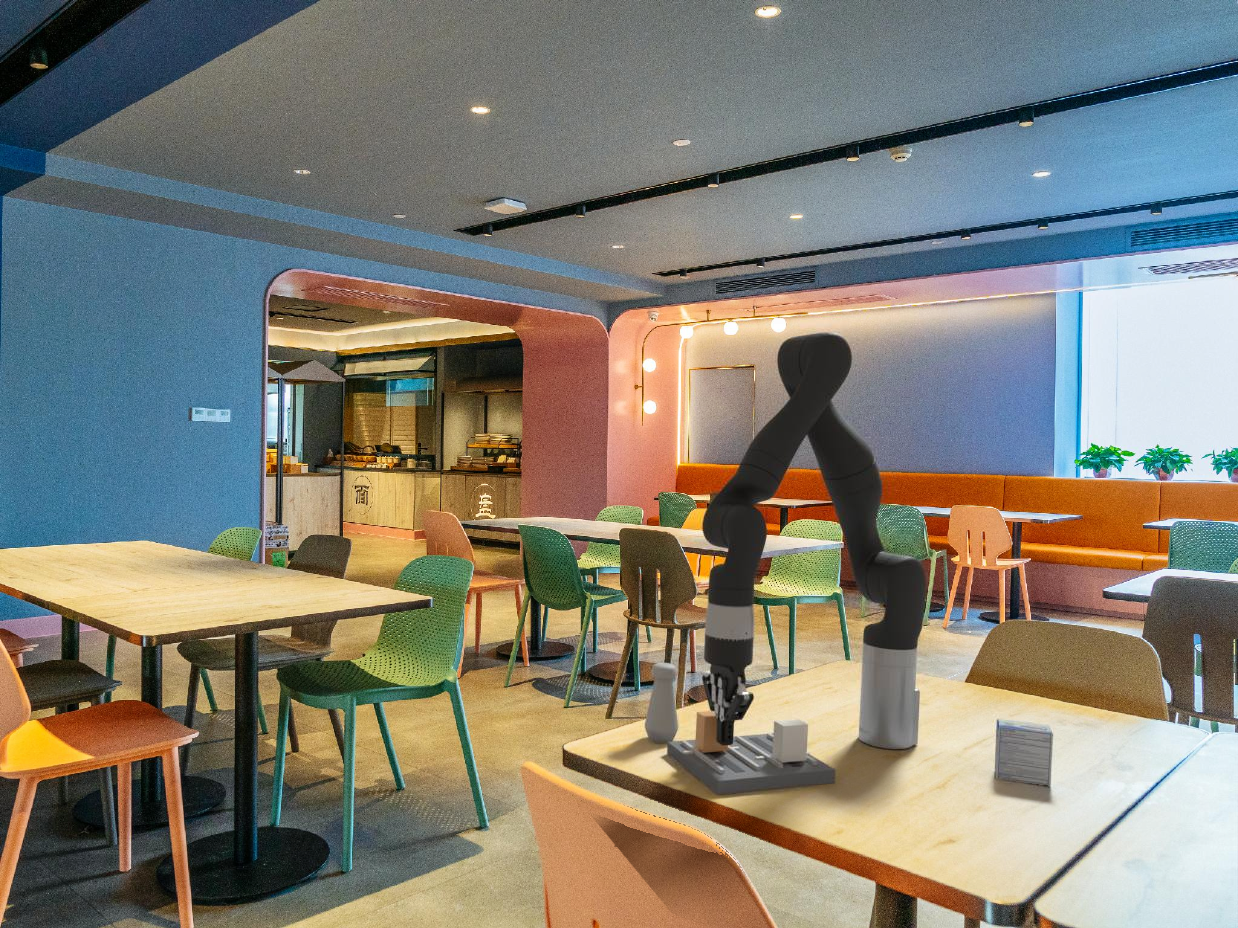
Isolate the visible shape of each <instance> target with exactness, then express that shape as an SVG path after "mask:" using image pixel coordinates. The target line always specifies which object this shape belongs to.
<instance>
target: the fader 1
mask: <svg viewBox="0 0 1238 928" xmlns="http://www.w3.org/2000/svg"><path fill="white" fill-rule="evenodd" d="M716 736H717V718H715V712H714V711H711V710H708V711H707V710H706V711H697V712H696V722H695V740H696V741H695V747H696V748H697V749H699V750H700V751H701V752H703V753H705V752H716V751H728V745H725V746H722V745H721V744H719V743H718V742H717V741H716Z"/></svg>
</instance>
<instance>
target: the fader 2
mask: <svg viewBox="0 0 1238 928" xmlns="http://www.w3.org/2000/svg"><path fill="white" fill-rule="evenodd" d="M808 731H809V724H808V723H806V722H805V721H802V719H798V718H793V719H781V720H774V721H773V733H774V734H773V755H772V757H774V758H775V759H777V760H779V761H780V762H782V763H783V762H794V761H805V760H806V759H807V752H808V736H809V735H808V734H809V733H808Z"/></svg>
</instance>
